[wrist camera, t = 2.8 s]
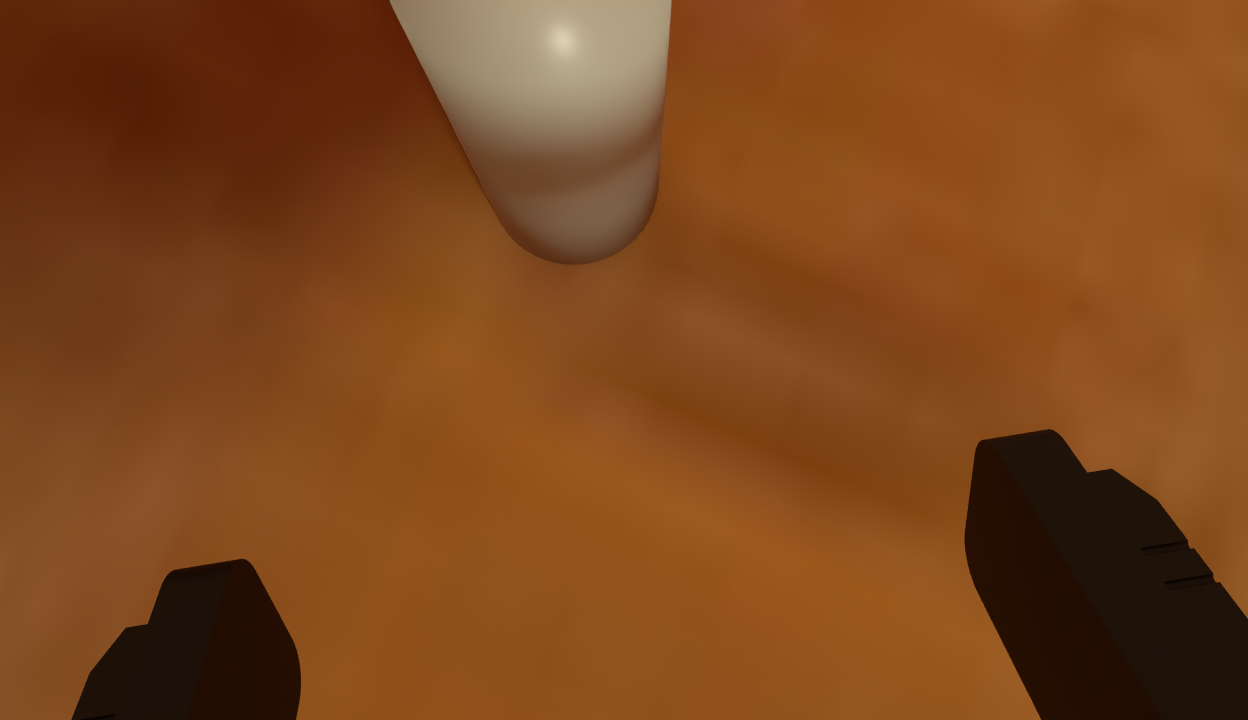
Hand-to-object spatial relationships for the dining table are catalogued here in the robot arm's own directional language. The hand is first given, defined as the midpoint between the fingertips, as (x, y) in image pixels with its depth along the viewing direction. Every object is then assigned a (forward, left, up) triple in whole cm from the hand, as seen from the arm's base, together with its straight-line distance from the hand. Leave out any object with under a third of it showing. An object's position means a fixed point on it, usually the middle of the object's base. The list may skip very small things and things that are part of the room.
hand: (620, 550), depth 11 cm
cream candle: (0, +9, -13) cm, 16 cm away
